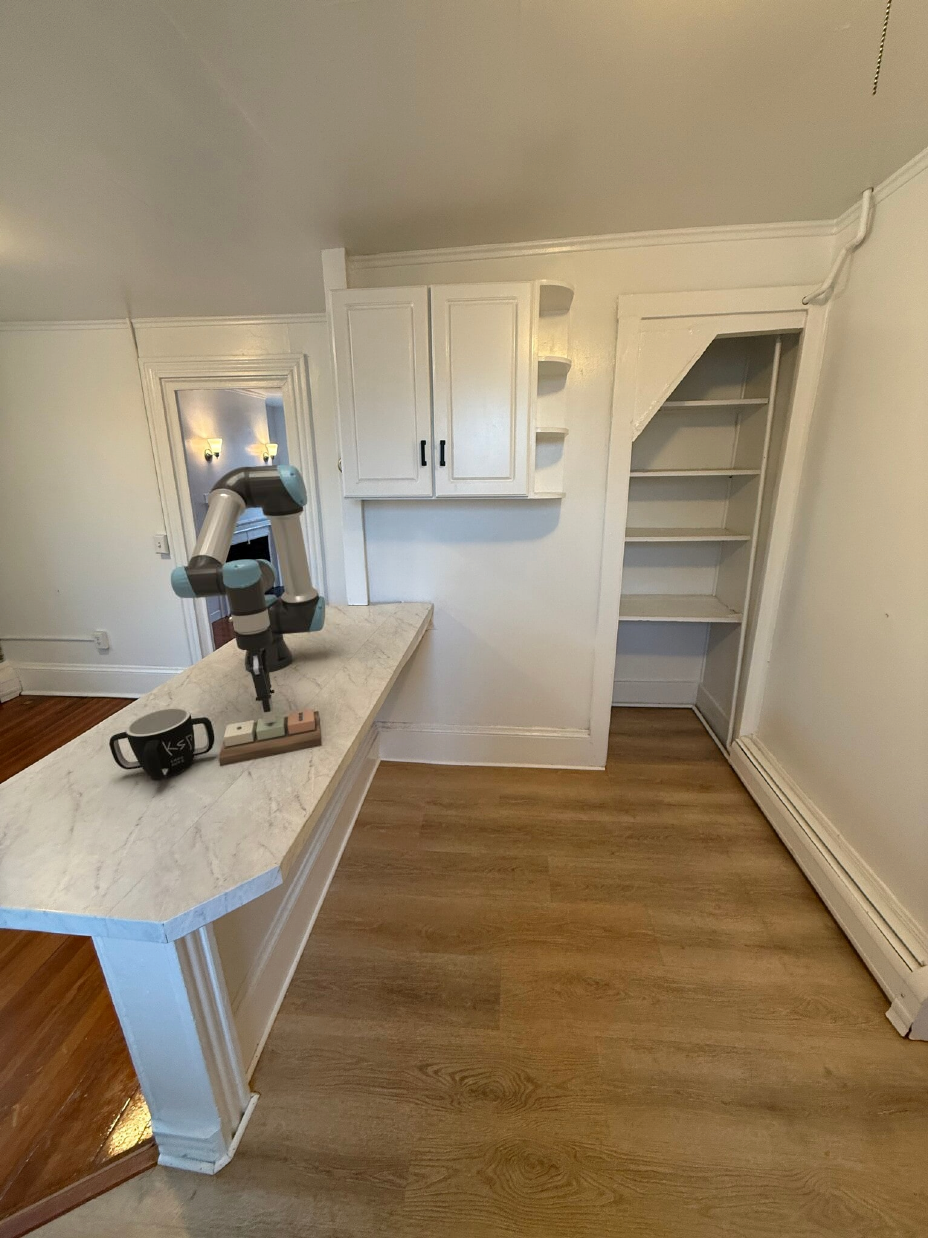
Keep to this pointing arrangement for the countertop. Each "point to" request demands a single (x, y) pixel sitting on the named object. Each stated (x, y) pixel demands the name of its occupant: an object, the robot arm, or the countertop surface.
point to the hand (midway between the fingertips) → (270, 721)
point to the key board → (271, 745)
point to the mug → (162, 742)
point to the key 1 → (239, 733)
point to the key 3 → (301, 721)
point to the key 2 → (271, 728)
